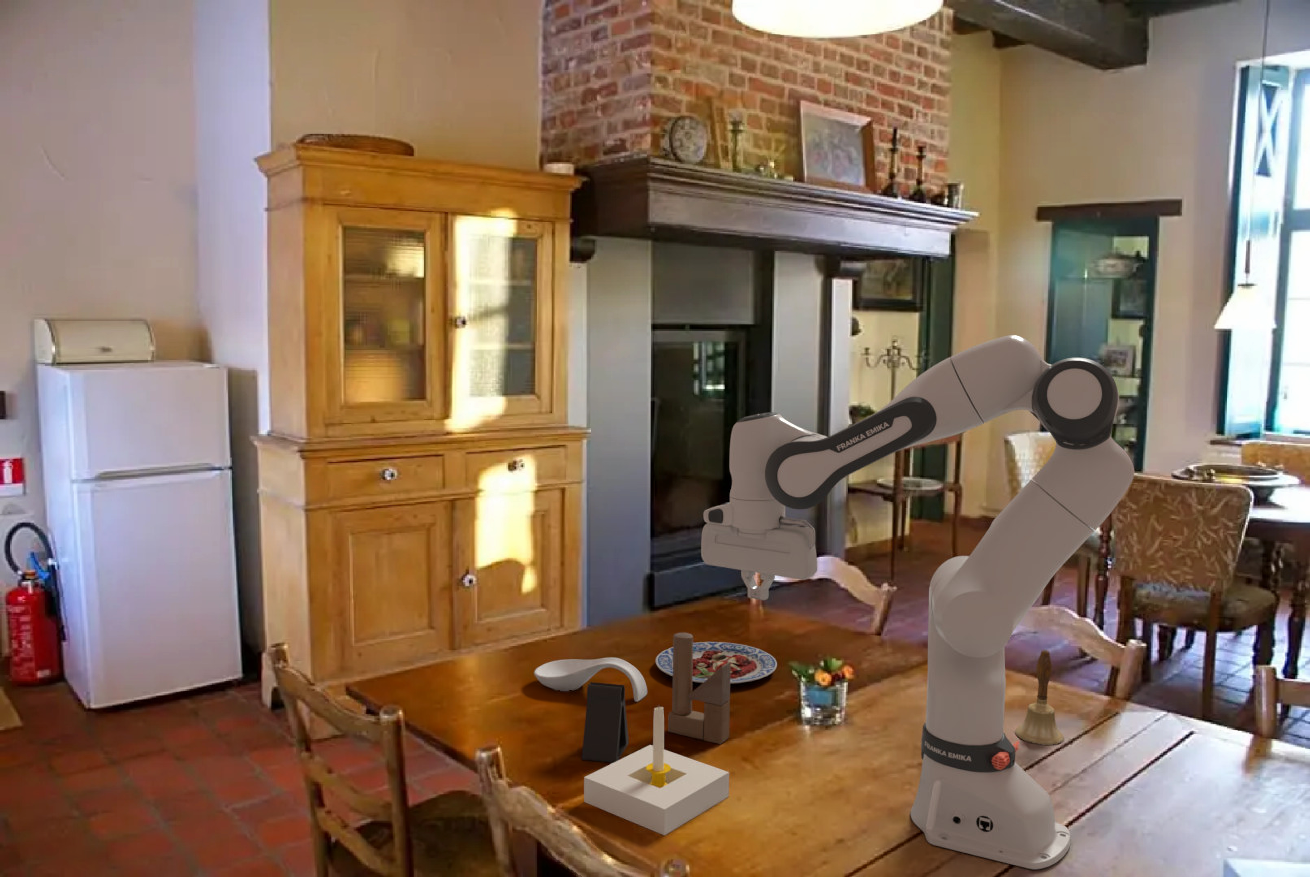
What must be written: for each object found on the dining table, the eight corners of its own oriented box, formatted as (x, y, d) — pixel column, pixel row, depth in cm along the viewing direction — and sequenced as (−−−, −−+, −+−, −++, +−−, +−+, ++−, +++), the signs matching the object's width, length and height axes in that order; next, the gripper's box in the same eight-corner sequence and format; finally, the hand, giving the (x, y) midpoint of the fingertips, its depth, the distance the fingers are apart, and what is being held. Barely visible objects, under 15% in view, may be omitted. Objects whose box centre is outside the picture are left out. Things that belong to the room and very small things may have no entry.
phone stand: (615, 764, 173) (616, 695, 172) (581, 760, 174) (581, 692, 173) (629, 742, 182) (629, 677, 180) (596, 739, 183) (596, 674, 182)
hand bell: (1071, 736, 187) (1076, 650, 185) (1052, 749, 181) (1058, 661, 179) (1026, 723, 192) (1031, 640, 190) (1007, 736, 186) (1011, 650, 184)
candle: (634, 801, 160) (634, 705, 158) (656, 790, 164) (656, 695, 162) (660, 812, 157) (661, 713, 155) (681, 800, 161) (682, 703, 159)
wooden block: (721, 745, 181) (722, 646, 179) (667, 732, 186) (668, 636, 184) (729, 738, 184) (731, 640, 182) (677, 725, 190) (678, 630, 187)
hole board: (728, 796, 162) (729, 772, 161) (664, 835, 150) (664, 809, 149) (650, 767, 172) (650, 744, 171) (584, 802, 160) (584, 777, 159)
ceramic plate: (698, 644, 238) (698, 631, 237) (798, 667, 223) (798, 653, 222) (631, 674, 217) (631, 661, 217) (736, 702, 202) (736, 687, 202)
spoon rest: (523, 691, 207) (523, 656, 206) (552, 673, 217) (552, 640, 217) (631, 710, 198) (631, 674, 197) (655, 690, 208) (655, 655, 207)
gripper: (824, 517, 161) (824, 604, 163) (717, 505, 174) (718, 585, 175) (804, 524, 156) (804, 613, 158) (695, 510, 169) (696, 593, 170)
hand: (758, 598), depth 167 cm, fingers closed
